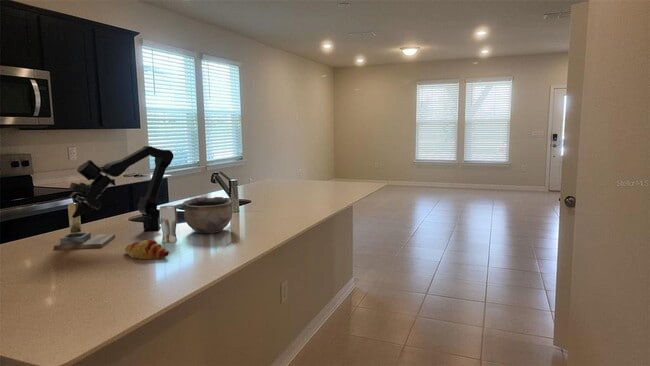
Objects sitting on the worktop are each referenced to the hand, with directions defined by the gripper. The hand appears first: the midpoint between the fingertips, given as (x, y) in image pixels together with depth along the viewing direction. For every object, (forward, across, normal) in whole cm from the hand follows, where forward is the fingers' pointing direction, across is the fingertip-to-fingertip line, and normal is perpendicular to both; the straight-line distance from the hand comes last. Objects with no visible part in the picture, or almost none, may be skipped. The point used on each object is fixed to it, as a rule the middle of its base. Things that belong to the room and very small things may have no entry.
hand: (70, 216), depth 170 cm
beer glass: (-12, +24, +29) cm, 40 cm away
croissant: (0, +37, +18) cm, 41 cm away
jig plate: (+5, 0, +12) cm, 13 cm away
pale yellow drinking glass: (+4, 0, +6) cm, 7 cm away
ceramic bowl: (-26, +24, +44) cm, 56 cm away
